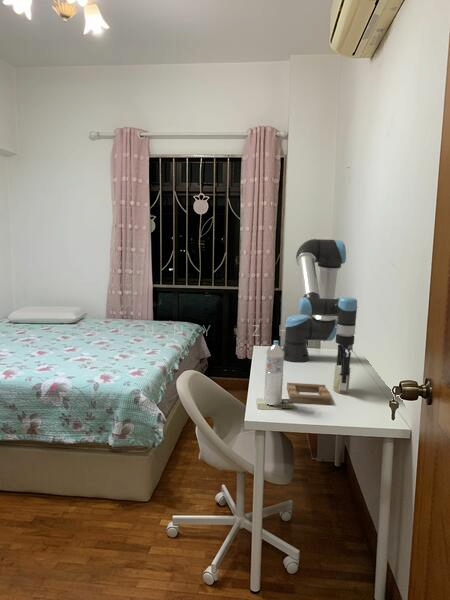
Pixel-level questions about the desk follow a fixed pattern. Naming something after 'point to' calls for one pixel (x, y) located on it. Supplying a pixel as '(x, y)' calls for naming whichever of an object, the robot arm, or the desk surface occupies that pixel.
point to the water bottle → (274, 375)
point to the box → (337, 380)
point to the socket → (304, 398)
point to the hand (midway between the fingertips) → (341, 387)
